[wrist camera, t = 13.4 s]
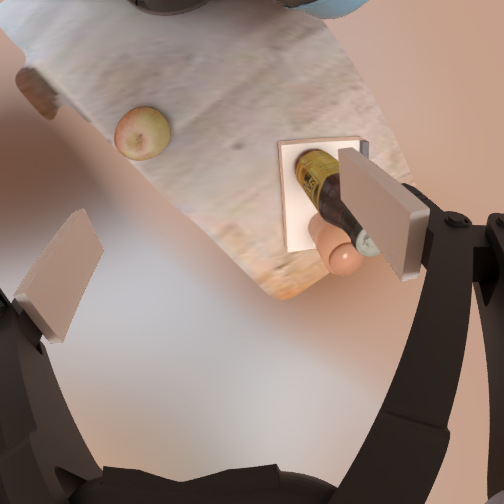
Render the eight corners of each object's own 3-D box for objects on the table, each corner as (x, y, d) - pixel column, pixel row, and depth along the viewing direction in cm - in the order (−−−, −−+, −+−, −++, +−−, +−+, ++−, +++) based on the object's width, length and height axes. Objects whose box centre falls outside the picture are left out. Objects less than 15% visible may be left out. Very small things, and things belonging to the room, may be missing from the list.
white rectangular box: (277, 141, 42) (282, 147, 39) (359, 136, 42) (369, 141, 39) (284, 244, 52) (289, 256, 49) (355, 234, 52) (362, 245, 49)
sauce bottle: (285, 158, 41) (332, 223, 25) (324, 140, 40) (394, 192, 23) (303, 195, 45) (352, 275, 28) (339, 178, 43) (406, 248, 27)
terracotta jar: (307, 211, 46) (327, 245, 38) (343, 207, 46) (369, 239, 38) (308, 244, 49) (325, 281, 41) (341, 239, 50) (364, 274, 41)
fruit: (163, 96, 37) (151, 101, 30) (179, 142, 41) (171, 156, 34) (116, 117, 37) (96, 126, 30) (133, 160, 41) (118, 177, 35)
